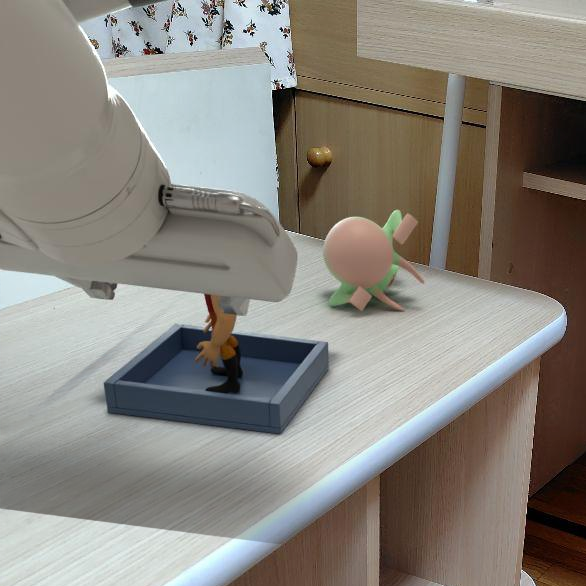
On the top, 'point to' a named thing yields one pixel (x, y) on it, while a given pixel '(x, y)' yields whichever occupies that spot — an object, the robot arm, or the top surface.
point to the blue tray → (219, 380)
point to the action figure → (221, 347)
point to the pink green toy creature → (366, 258)
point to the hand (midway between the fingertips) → (172, 297)
